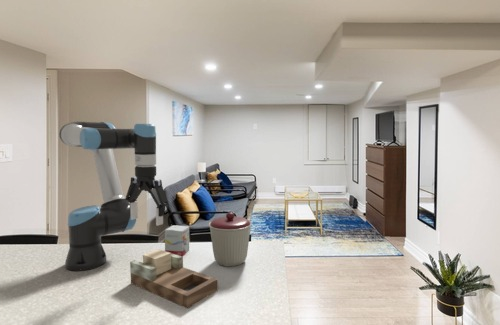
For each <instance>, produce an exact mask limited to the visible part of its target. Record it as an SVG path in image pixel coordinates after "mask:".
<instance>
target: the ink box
mask: <svg viewBox="0 0 500 325" xmlns="http://www.w3.org/2000/svg"><path fill="white" fill-rule="evenodd" d="M164 251H166V252H169V253H172V254H175V255H179V256H182V257H183V258H184V256H185V255H186V254H188V252H190V226H187V225H177V224H176V225H175V224H174V225H170V226H168V228H166V229H164Z"/></svg>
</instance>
